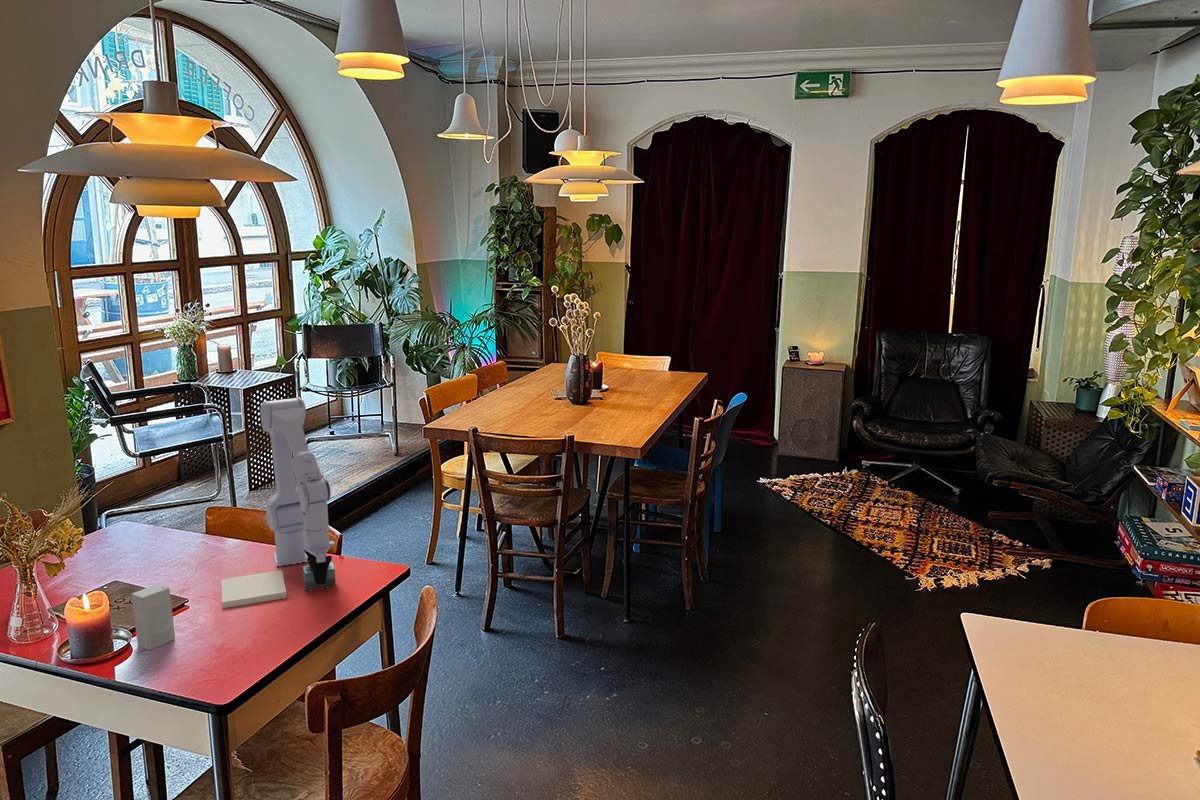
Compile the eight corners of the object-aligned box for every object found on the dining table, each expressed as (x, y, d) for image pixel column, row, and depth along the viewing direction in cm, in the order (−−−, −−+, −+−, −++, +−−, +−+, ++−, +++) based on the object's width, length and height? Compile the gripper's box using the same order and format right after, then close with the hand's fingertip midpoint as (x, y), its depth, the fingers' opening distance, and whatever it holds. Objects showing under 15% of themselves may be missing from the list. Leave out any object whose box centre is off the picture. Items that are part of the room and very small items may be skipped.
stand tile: (221, 585, 202) (221, 579, 201) (282, 575, 207) (281, 570, 207) (222, 608, 189) (222, 602, 189) (286, 597, 195) (286, 591, 195)
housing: (303, 584, 202) (302, 564, 201) (333, 579, 205) (332, 559, 204) (305, 591, 198) (304, 571, 197) (335, 586, 201) (334, 566, 200)
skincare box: (164, 634, 177) (158, 582, 174) (175, 639, 175) (170, 587, 172) (136, 646, 172) (130, 593, 169) (147, 651, 169) (142, 598, 167)
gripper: (337, 534, 194) (340, 588, 197) (329, 516, 207) (332, 566, 210) (306, 539, 191) (309, 593, 194) (300, 519, 204) (303, 570, 207)
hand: (319, 579), depth 202 cm, fingers closed on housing, 5 cm apart
